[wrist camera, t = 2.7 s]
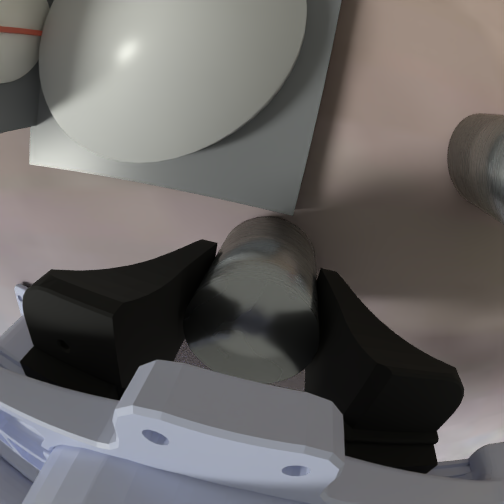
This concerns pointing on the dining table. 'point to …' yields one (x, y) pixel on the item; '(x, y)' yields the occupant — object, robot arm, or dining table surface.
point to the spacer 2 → (479, 162)
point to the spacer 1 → (257, 304)
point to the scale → (170, 90)
